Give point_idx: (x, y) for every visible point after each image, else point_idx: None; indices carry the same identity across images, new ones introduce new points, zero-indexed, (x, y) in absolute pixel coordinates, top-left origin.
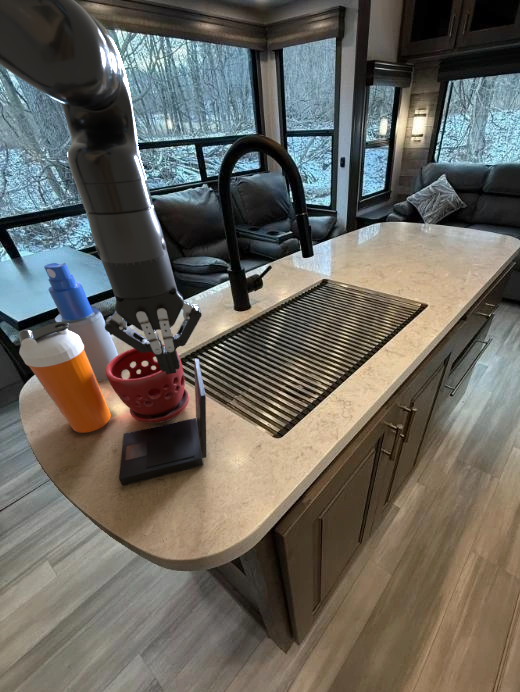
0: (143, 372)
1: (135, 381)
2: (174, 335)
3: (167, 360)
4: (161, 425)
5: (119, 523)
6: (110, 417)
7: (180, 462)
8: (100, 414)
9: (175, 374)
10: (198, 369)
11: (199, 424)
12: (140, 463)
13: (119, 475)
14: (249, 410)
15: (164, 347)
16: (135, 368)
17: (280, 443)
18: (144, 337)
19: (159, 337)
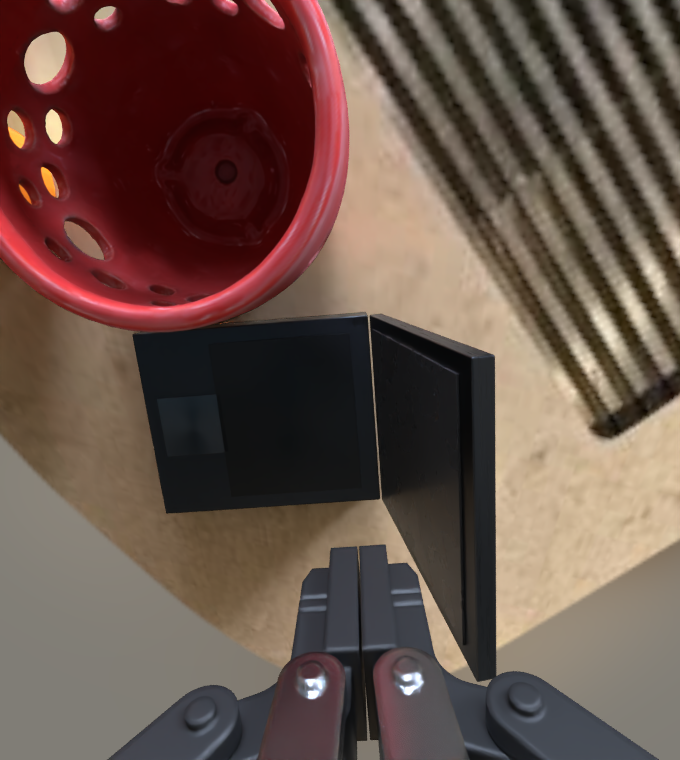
0: (129, 15)
1: (140, 331)
2: (477, 751)
3: (364, 674)
4: (251, 326)
5: (194, 593)
6: (54, 191)
7: (322, 500)
8: None
9: (322, 241)
10: (485, 475)
11: (404, 505)
12: (212, 475)
13: (165, 502)
14: (551, 282)
15: (357, 661)
16: (84, 8)
17: (602, 461)
18: (211, 754)
19: (342, 741)
